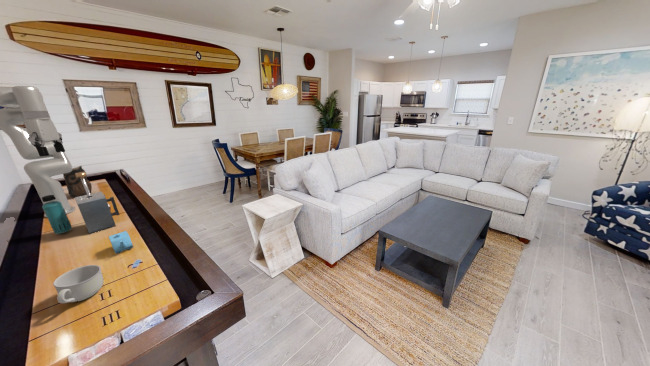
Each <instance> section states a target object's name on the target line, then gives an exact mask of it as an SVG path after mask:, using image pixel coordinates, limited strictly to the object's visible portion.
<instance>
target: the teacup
mask: <svg viewBox="0 0 650 366" xmlns="http://www.w3.org/2000/svg"><path fill="white" fill-rule="evenodd" d="M52 284H53V287H54V288H55V290H56V293H57V296H56V299H57V302H58V304H59V303H60V304H67V303H75V302H77V301H78V302H82V301H84V300H85V301H86V300H87V299H89V298H91V297H92V296H94V295H96V293H98V292H99V291H100V290H101V288H102V287H103V285H104V277H103V274H102V269H101V266H100V265H97V264H87V265H83V266H80V267H79V266H78V267H76V268H73V269H70V270H68V271H66V272H64V273H63V274H61V275H59V276H58V277H57V278H55V280H54V281H53V283H52ZM78 302H77V303H78Z"/></svg>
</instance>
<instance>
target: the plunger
mask: <svg viewBox="0 0 650 366" xmlns="http://www.w3.org/2000/svg"><path fill="white" fill-rule="evenodd" d="M75 175H76V177H77V178H81V181H82V183H83V186H84V188H85V191H86V193H87V196H88V198H89V197H91V194H92V193H91V194H90V192H89V189H88V186H87V184H86V181H85V179H84V177H85V176H87V177H88V175H87V172H86V171H85V172H79V173H75Z"/></svg>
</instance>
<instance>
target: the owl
mask: <svg viewBox="0 0 650 366" xmlns="http://www.w3.org/2000/svg"><path fill="white" fill-rule="evenodd" d="M79 172H86V170H85V169H84V168H83V165H79V166H77V167H76V166H75V167H72V171H71V172H69V173H65V174H62V175H63V178H64V182H65V187H66V188H67V192H68V195H69V196H70V197H71V198H72V197H73V199H74V198H75V197H79V196H84V195H87V193H86V191H85V188H84V186H83V183H82V181H81V178H77V177H76V175H75V173H79ZM84 179H85V181H86V184H87V186H88V189H89V192H90V193H91V191H92V190H93V189H92V188H93V187H92V183H91V181H90V180H88V175H87V176H85V177H84ZM91 194H92V193H91Z"/></svg>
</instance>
